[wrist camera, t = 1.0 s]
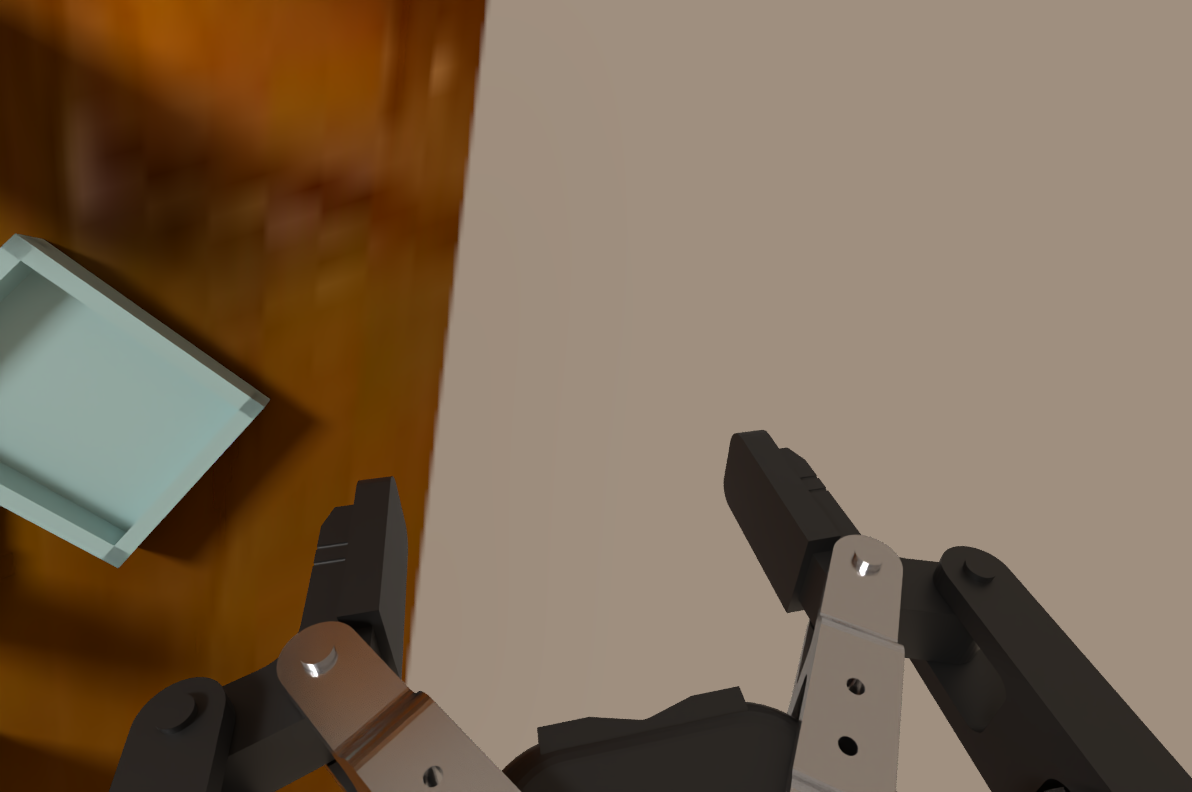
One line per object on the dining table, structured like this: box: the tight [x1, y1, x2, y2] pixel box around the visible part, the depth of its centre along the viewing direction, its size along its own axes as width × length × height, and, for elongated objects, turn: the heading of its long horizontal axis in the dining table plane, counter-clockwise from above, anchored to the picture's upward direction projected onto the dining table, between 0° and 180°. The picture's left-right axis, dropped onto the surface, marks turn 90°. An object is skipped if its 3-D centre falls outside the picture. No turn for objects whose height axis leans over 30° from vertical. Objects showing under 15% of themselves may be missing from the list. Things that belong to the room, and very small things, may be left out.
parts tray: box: [0, 234, 270, 568], centre depth 29 cm, size 12×10×3 cm
